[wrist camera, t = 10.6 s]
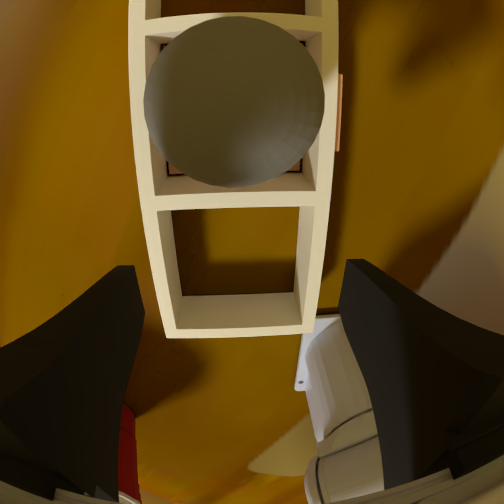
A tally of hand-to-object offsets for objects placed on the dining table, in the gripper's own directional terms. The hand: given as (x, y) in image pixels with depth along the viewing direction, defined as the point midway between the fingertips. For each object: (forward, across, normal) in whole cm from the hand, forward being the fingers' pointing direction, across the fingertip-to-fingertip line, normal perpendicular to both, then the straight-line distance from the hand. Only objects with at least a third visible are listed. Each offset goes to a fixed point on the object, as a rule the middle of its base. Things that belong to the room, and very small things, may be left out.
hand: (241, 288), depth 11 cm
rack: (+10, 0, -5) cm, 11 cm away
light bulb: (+10, 0, -6) cm, 11 cm away
